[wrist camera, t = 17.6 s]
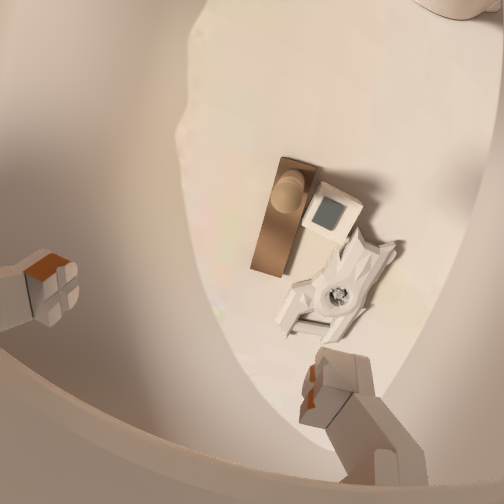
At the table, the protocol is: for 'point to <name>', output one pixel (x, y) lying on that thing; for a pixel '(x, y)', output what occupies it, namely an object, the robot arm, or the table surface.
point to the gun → (336, 289)
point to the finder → (331, 213)
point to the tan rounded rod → (288, 191)
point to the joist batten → (280, 225)
